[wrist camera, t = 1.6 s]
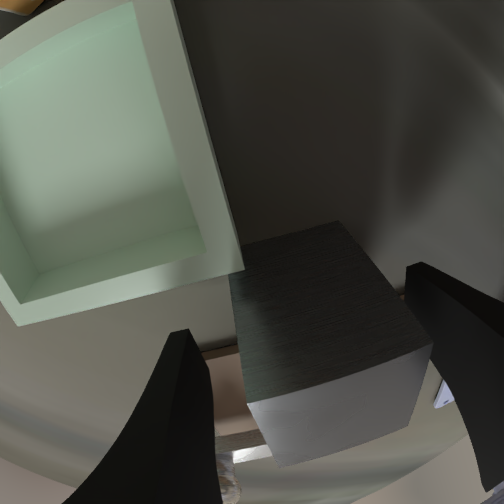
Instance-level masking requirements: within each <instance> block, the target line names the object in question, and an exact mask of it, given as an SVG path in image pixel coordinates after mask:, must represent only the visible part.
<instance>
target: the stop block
mask: <svg viewBox="0 0 504 504" xmlns="http://www.w3.org/2000/svg"><path fill="white" fill-rule="evenodd" d="M240 248H241V253H242V258H243V263H244V268H245V270H241V271H238V272H234V273H230V274H228V276H229V283H230V291H231V298H232V306H233V313H234V320H235V327H236V334H237V341H238V348H239V355H240V361H241V368H242V375H243V381H244V388H245V394H246V401H247V405H248V407H249V409H250V411H251V413H252V415H253V417H254V419H255V421H256V423H257V425H258V427H259V429H260V431H261V433H262V435H263V437H264V439H265V441H266V443H267V445H268V447H269V449H270V451H271V453H272V455H273V457H274V459H275V461H276V462H277V464H278V466H279V468H281V467H285V466H289V465H293V464H298V463H301V462H305V461H309V460H313V459H316V458H320V457H323V456H327V455H330V454H333V453H336V452H340V451H343V450H346V449H349V448H352V447H355V446H358V445H360V444H363V443H366V442H369V441H371V440H374V439H377V438H379V437H382V436H384V435H387V434H389V433H392V432H394V431H397V430H399V429H402V428H404V427H406V426H408V424H409V421H410V418H411V415H412V413H413V410H414V407H415V404H416V401H417V398H418V395H419V392H420V389H421V386H422V383H423V379H424V376H425V373H426V369H427V366H428V362H429V359H430V355H431V351H432V347H433V343H434V342H433V341H432V339H431V338H430V337H429V335H428V334H427V332H426V331H425V330H424V328H423V327H422V325H421V324H420V323H419V321H418V320H417V319H416V317H415V316H414V314H413V313H412V312H411V310H410V309H409V308H408V306H407V305H406V304H405V302H404V301H403V300H402V298H401V297H400V296H399V294H398V293H397V292H396V291H395V289H394V288H393V287H392V285H391V284H390V283H389V282H388V280H387V279H386V278H385V276H384V275H383V274H382V273H381V271H380V270H379V269H378V268H377V266H376V265H375V264H374V263H373V261H372V260H371V259H370V258H369V256H368V255H367V254H366V253H365V252H364V250H363V249H362V248H361V247H360V246H359V244H358V243H357V242H356V241H355V239H354V238H353V237H352V236H351V235H350V234H349V232H348V231H347V230H346V229H345V228H344V226H343V225H342V224H341V223H340V222H339V221H335V222H331V223H328V224H324V225H320V226H316V227H312V228H309V229H305V230H301V231H297V232H293V233H290V234H286V235H282V236H278V237H274V238H271V239H267V240H263V241H259V242H256V243H252V244H248V245H244V246H241V247H240Z"/></svg>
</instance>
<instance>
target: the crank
mask: <svg viewBox="0 0 504 504" xmlns="http://www.w3.org/2000/svg"><path fill="white" fill-rule="evenodd" d="M215 455H216V466H217V472H218V478H219V484H220V490H221V495H222V500H223V504H236V503H237V502H238V500H239V499H240V497H241V486H240V483H239V482H238V480H237V479H236V477H235V469H234V463H238V462H243V461H249V460H254V459H259V458H264V457H269V456H273V455H272V453H271V451H270V449H269V447H268V445H267V443H266V441H265V439H264V437H263V435H262V433H261V431H260V429H254V430H250V431H245V432H240V433H235V434H229V435H224V436H218V437H215Z"/></svg>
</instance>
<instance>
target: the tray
mask: <svg viewBox="0 0 504 504" xmlns="http://www.w3.org/2000/svg"><path fill="white" fill-rule="evenodd" d="M241 270H245V268H244V263H243V258H242V253H241V248H240V244H239V239H238V234H237V230H236V227H235V223H234V220H233V216H232V213H231V209H230V205H229V202H228V198H227V195H226V191H225V188H224V184H223V180H222V177H221V173H220V170H219V166H218V162H217V159H216V155H215V152H214V148H213V144H212V141H211V137H210V134H209V130H208V126H207V123H206V119H205V115H204V112H203V108H202V104H201V101H200V97H199V93H198V90H197V86H196V82H195V79H194V75H193V71H192V68H191V64H190V60H189V56H188V53H187V49H186V45H185V41H184V38H183V34H182V30H181V27H180V23H179V19H178V15H177V11H176V8H175V4H174V0H65V1H63V2H61V3H59V4H57V5H55V6H54V7H52V8H50V9H48V10H46V11H45V12H43V13H41V14H39V15H38V16H36V17H34V18H33V19H31V20H29V21H28V22H26V23H25V24H23V25H21V26H20V27H18V28H17V29H15V30H14V31H12V32H11V33H9V34H8V35H6V36H5V37H4V38H2V39H1V40H0V301H1V303H2V304H3V306H4V307H5V309H6V310H7V312H8V313H9V315H10V316H11V317H12V319H13V320H14V322H15V323H16V325H17V326H23V325H27V324H31V323H35V322H40V321H44V320H48V319H52V318H56V317H60V316H64V315H69V314H73V313H77V312H81V311H85V310H89V309H93V308H97V307H101V306H105V305H109V304H113V303H117V302H121V301H125V300H129V299H133V298H137V297H141V296H145V295H149V294H153V293H157V292H161V291H165V290H169V289H172V288H176V287H180V286H184V285H188V284H192V283H196V282H200V281H203V280H207V279H211V278H215V277H219V276H222V275H226V274H230V273H234V272H238V271H241Z"/></svg>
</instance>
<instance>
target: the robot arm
mask: <svg viewBox="0 0 504 504" xmlns="http://www.w3.org/2000/svg"><path fill="white" fill-rule="evenodd" d="M404 302H405V304H406V305H407V306H408V308H409V309H410V310H411V312H412V313H413V314H414V316H415V317H416V319H417V320H418V321H419V323H420V324H421V325H422V327H423V328H424V330H425V331H426V332H427V334H428V335H429V337H430V338H431V339H432V341H433V342H434V343H433V347H432V351H431V355H430V360H431V361H432V363H433V364H434V366H435V367H436V369H437V370H438V372H439V373H440V375H441V376H442V378H443V382H442V384H441V387H440V389H439V392H438V394H437V397H436V399H435V402H434V407H435V408H440V407H442V406H444V405H446V404H447V403H449V402H451V401H453V400H455V402H456V404H457V406H458V408H459V411H460V413H461V415H462V418H463V420H464V423H465V426H466V428H467V431H468V433H469V436H470V439H471V442H472V446H473V449H474V452H475V455H476V460H477V464H478V468H479V472H480V477H481V483H482V485H483V487H484V489H485V492H488V491H490V490H491V489H494V493H493V495H492V496H491V497H490V498H489V499H487V500H485V501H484V502H482V503H481V504H504V303H503V302H501V301H499V300H497V299H495V298H493V297H490V296H488V295H486V294H484V293H482V292H480V291H478V290H476V289H474V288H472V287H470V286H469V285H467V284H465V283H463V282H461V281H459V280H457V279H455V278H453V277H451V276H450V275H448V274H446V273H444V272H442V271H440V270H438V269H436V268H434V267H432V266H430V265H428V264H426V263H423V262H419V263H416V264H413V265H410V266H407V267H406V281H405V293H404ZM62 504H223V500H222V495H221V490H220V484H219V478H218V472H217V466H216V455H215V430H214V400H213V390H212V383H211V377H210V371H209V367H208V365H207V364H206V362H205V360H204V358H203V356H202V354H201V352H200V350H199V348H198V346H197V344H196V342H195V340H194V338H193V336H192V334H191V332H190V330H189V329H185V330H180V331H176V332H171V333H170V335H169V336H168V339H167V341H166V343H165V345H164V348H163V350H162V352H161V355H160V357H159V359H158V362H157V364H156V366H155V368H154V371H153V373H152V375H151V377H150V379H149V381H148V383H147V386H146V388H145V390H144V392H143V394H142V396H141V398H140V399H139V401H138V403H137V405H136V407H135V409H134V411H133V413H132V415H131V416H130V418H129V420H128V422H127V423H126V425H125V427H124V428H123V430H122V432H121V433H120V435H119V436H118V438H117V439H116V441H115V442H114V444H113V445H112V447H111V448H110V449H109V451H108V452H107V454H106V455H105V456H104V458H103V459H102V460H101V462H100V463H99V464H98V466H97V467H96V468H95V469H94V471H93V472H92V473H91V474H90V475H89V476H88V477H87V479H86V480H85V481H84V482H83V483H82V484H81V485H80V486H79V487H78V489H77V490H76V491H75V492H74V493H73V494H72V495H71V496H70V497H69V498H67V499H66V500H65V501H64V502H63V503H62Z"/></svg>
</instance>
